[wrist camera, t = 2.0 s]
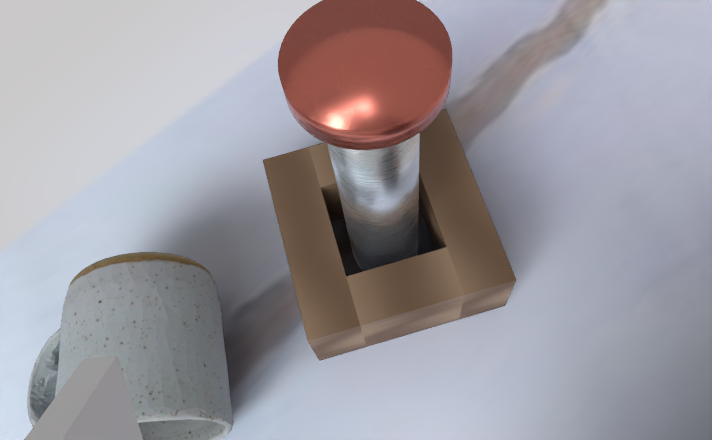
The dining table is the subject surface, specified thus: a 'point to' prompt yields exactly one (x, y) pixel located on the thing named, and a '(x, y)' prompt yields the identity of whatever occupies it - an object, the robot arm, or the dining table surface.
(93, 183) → the dining table surface
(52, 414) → the robot arm
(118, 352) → the ceramic mug
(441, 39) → the red-capped mushroom
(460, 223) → the eye block
